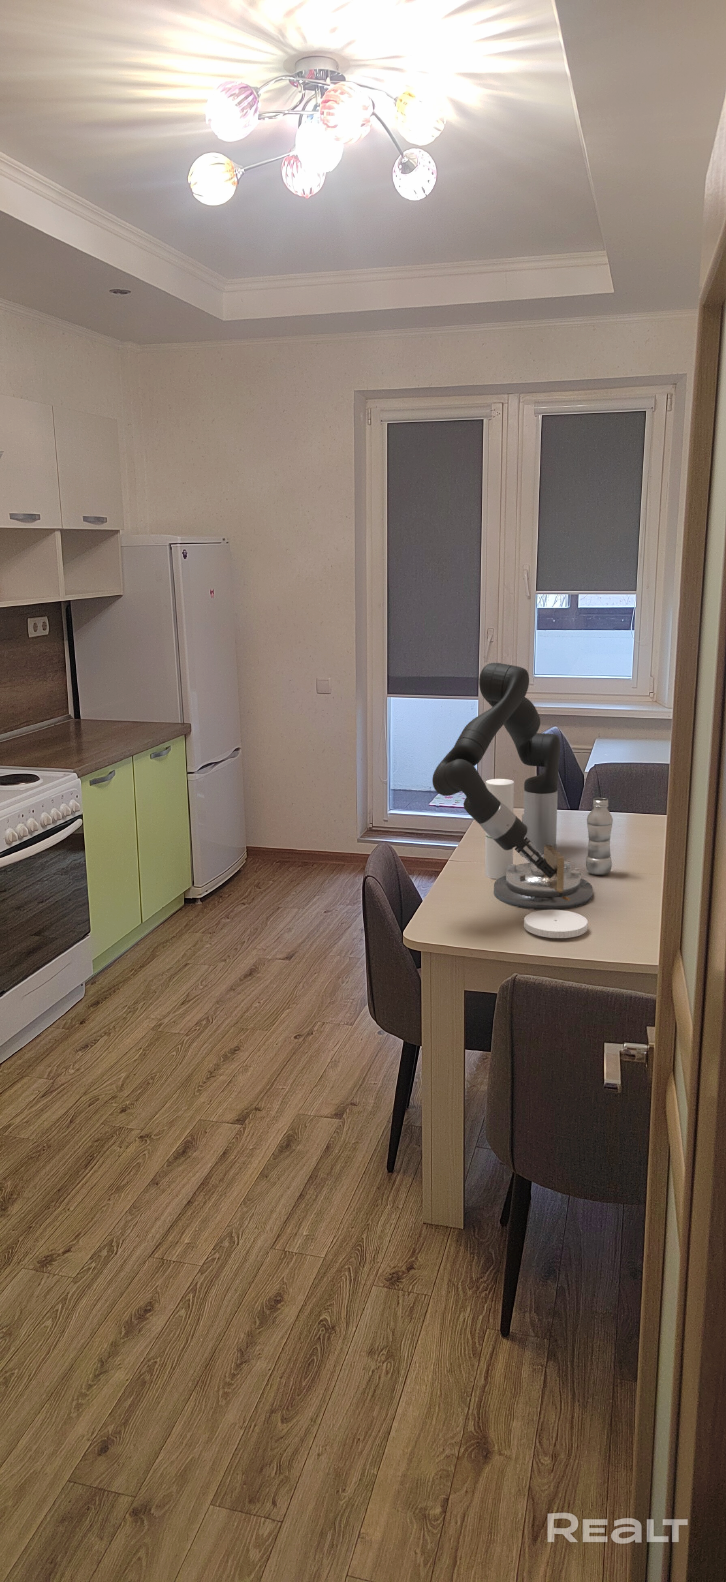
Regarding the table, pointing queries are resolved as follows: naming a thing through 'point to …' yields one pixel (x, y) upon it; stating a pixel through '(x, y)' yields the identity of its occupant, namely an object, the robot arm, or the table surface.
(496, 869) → the cylindrical container
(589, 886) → the base plate
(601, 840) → the plastic bottle
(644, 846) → the table surface
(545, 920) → the plastic lid
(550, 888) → the round mechanism with board
